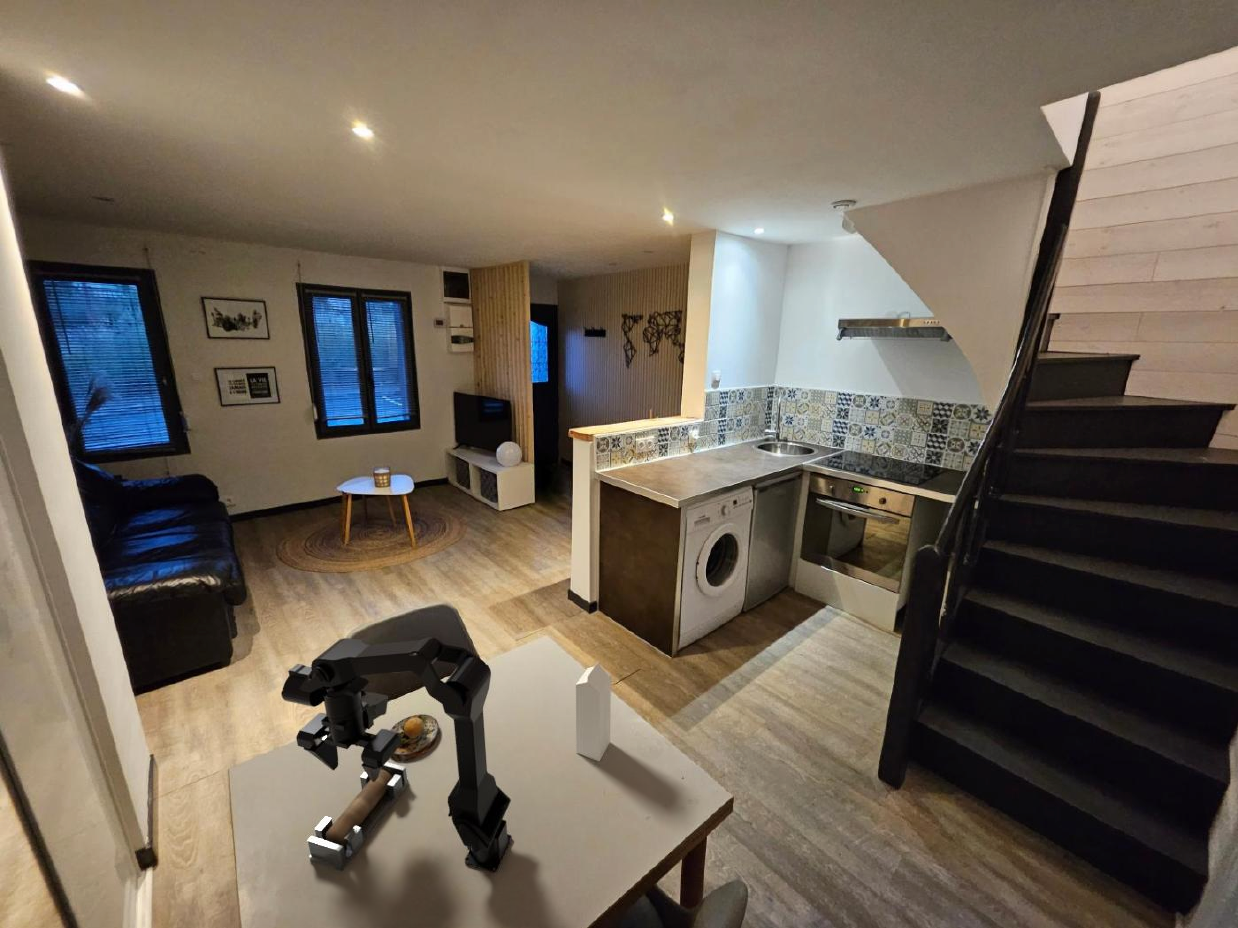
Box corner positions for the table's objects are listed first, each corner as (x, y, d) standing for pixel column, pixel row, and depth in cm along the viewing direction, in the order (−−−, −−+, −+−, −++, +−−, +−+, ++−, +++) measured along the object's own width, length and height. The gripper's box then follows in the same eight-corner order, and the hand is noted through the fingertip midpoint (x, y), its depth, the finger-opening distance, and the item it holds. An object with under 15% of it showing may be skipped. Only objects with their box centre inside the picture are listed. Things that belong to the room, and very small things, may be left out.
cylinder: (378, 782, 100) (375, 767, 99) (394, 787, 99) (391, 772, 98) (327, 844, 88) (323, 828, 87) (345, 850, 87) (341, 833, 86)
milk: (610, 742, 113) (612, 663, 107) (599, 762, 107) (600, 680, 101) (587, 733, 115) (588, 655, 109) (575, 752, 110) (575, 672, 104)
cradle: (410, 782, 102) (408, 766, 100) (344, 871, 85) (340, 853, 84) (378, 774, 103) (376, 757, 102) (307, 859, 87) (303, 841, 85)
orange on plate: (431, 712, 121) (429, 687, 119) (446, 744, 112) (443, 718, 110) (380, 734, 114) (376, 709, 112) (391, 770, 105) (387, 743, 103)
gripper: (416, 686, 92) (424, 750, 96) (337, 668, 97) (347, 730, 101) (375, 731, 82) (385, 800, 86) (288, 708, 86) (301, 776, 90)
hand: (355, 773), depth 91 cm, fingers open, 9 cm apart
